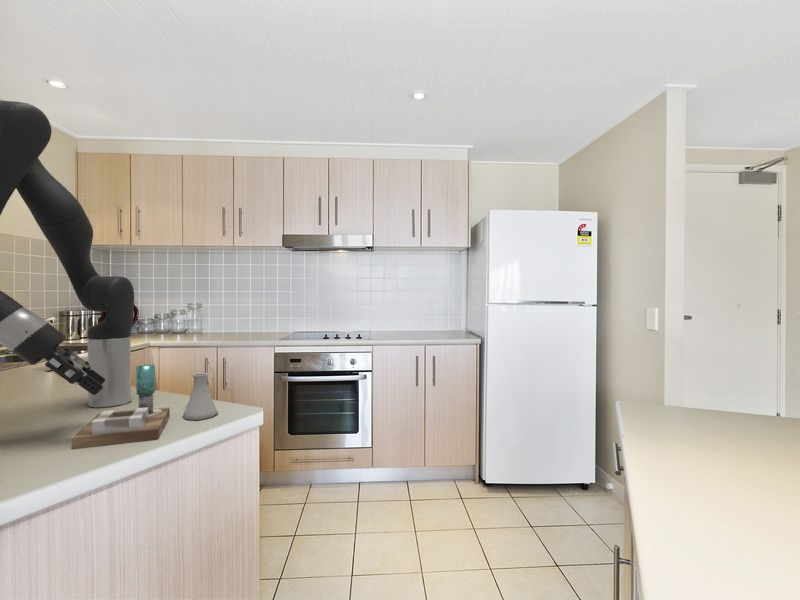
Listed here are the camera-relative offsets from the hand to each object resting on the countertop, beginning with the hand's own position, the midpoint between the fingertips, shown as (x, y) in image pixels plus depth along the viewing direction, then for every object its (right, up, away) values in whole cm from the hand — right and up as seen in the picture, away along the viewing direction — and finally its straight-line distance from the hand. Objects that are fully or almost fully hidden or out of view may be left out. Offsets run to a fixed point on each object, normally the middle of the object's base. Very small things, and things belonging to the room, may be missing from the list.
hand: (100, 387), depth 88 cm
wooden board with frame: (+6, -9, 0) cm, 11 cm away
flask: (+16, -9, +10) cm, 21 cm away
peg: (+7, -7, +5) cm, 11 cm away
